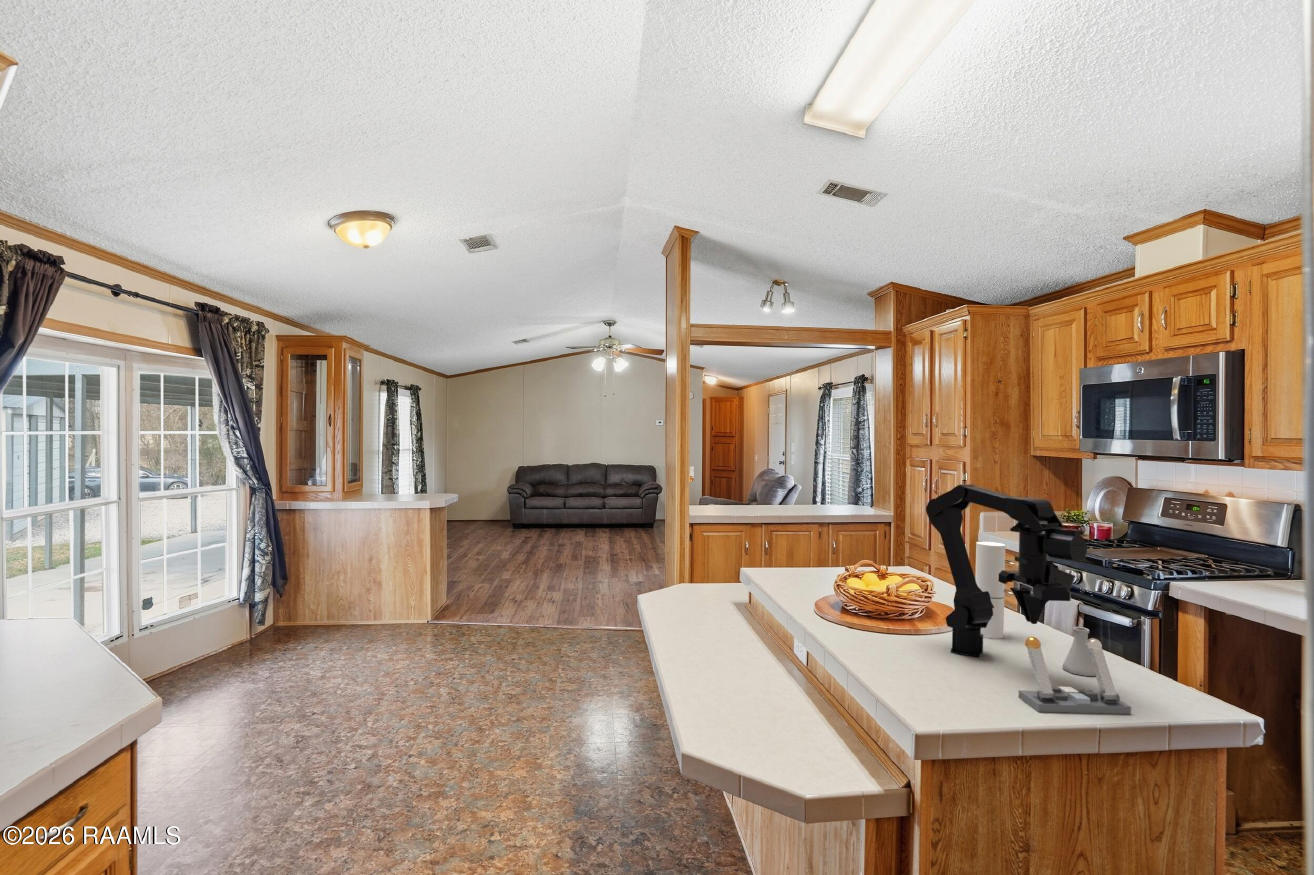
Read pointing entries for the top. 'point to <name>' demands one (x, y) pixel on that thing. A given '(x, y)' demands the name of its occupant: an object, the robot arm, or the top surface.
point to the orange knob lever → (1039, 669)
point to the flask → (1079, 654)
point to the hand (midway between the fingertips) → (1031, 622)
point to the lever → (1101, 671)
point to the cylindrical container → (991, 583)
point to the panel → (1074, 702)
